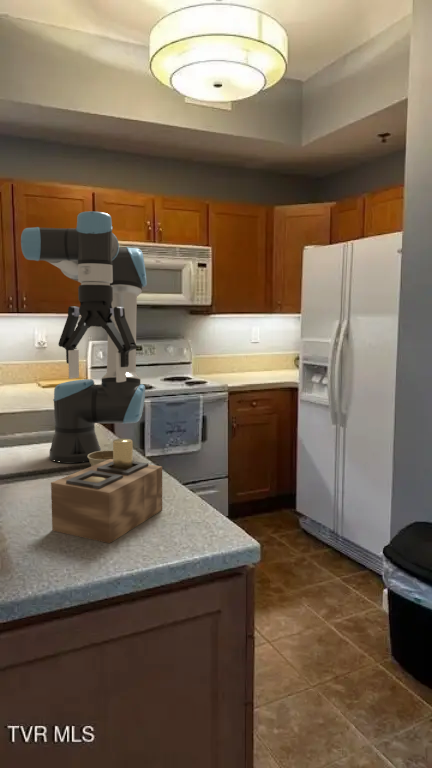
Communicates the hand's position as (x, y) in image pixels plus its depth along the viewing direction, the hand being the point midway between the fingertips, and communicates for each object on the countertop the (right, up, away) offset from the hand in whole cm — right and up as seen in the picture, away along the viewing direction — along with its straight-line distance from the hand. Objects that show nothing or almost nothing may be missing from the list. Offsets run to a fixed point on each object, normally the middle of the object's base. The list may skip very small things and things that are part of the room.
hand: (97, 380), depth 125 cm
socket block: (+5, -30, -8) cm, 31 cm away
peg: (+7, -21, -4) cm, 23 cm away
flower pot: (0, -27, +13) cm, 30 cm away
